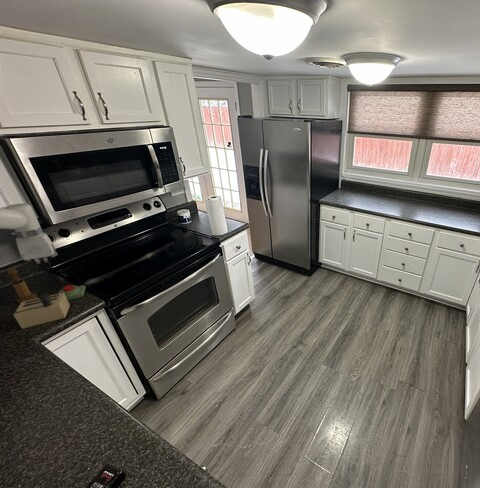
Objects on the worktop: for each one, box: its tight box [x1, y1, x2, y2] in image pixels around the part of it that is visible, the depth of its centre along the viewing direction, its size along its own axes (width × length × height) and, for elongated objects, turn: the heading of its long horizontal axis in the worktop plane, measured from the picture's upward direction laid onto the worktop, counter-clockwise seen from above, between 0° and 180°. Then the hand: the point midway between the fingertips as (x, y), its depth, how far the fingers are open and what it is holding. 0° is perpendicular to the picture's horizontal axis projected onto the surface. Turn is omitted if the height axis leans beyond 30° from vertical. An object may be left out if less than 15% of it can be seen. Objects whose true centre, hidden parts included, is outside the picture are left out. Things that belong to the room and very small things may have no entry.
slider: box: [39, 292, 52, 307], centre depth 114 cm, size 2×3×5 cm, turn 32°
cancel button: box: [62, 284, 74, 292], centre depth 132 cm, size 4×4×2 cm
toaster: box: [13, 293, 71, 330], centre depth 118 cm, size 14×10×8 cm
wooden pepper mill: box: [6, 268, 39, 305], centre depth 125 cm, size 7×6×18 cm
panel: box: [57, 284, 87, 301], centre depth 133 cm, size 10×9×4 cm
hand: (47, 269), depth 121 cm, fingers closed
